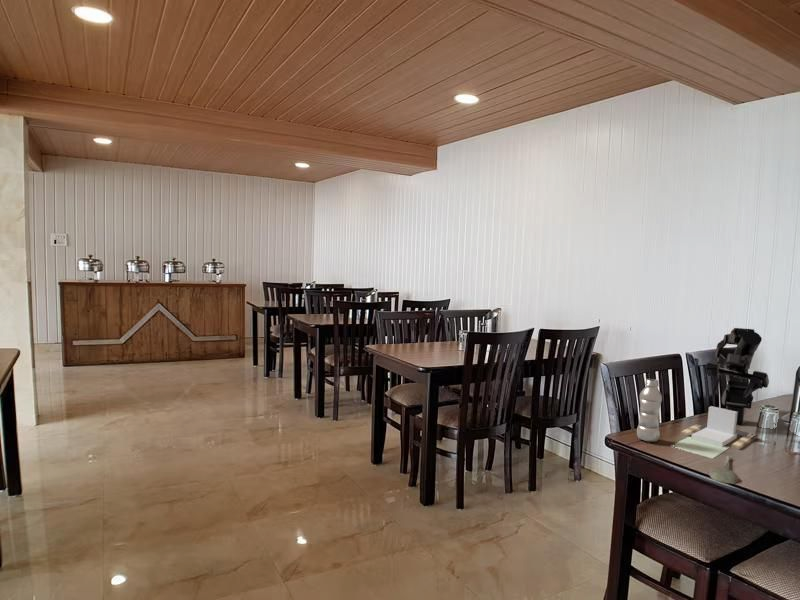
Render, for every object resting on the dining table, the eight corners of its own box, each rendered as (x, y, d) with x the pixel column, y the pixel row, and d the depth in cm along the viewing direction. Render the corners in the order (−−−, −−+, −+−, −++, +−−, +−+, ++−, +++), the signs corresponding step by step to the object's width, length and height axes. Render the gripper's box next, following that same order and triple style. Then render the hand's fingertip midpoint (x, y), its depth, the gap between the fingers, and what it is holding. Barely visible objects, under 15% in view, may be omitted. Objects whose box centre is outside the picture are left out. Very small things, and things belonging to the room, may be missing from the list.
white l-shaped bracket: (707, 430, 180) (709, 405, 179) (736, 438, 173) (739, 412, 172) (691, 438, 169) (693, 412, 168) (721, 446, 162) (724, 419, 162)
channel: (695, 427, 183) (695, 424, 183) (751, 441, 170) (751, 437, 170) (680, 434, 173) (681, 431, 173) (738, 450, 161) (739, 446, 161)
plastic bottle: (662, 444, 162) (668, 383, 161) (641, 443, 163) (646, 381, 161) (653, 437, 169) (658, 378, 167) (632, 436, 169) (637, 377, 168)
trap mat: (705, 423, 189) (705, 422, 189) (756, 435, 177) (756, 434, 177) (699, 426, 184) (699, 425, 184) (751, 439, 172) (751, 438, 172)
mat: (688, 437, 171) (688, 436, 171) (729, 447, 162) (729, 447, 162) (670, 447, 161) (670, 446, 161) (712, 459, 152) (712, 458, 152)
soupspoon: (706, 482, 137) (735, 491, 133) (708, 470, 136) (737, 479, 133) (716, 457, 154) (742, 464, 150) (718, 446, 154) (744, 453, 150)
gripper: (709, 340, 187) (695, 375, 181) (770, 350, 173) (757, 388, 167) (714, 358, 193) (701, 392, 187) (774, 368, 179) (761, 405, 174)
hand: (728, 393), depth 179 cm, fingers open, 9 cm apart
